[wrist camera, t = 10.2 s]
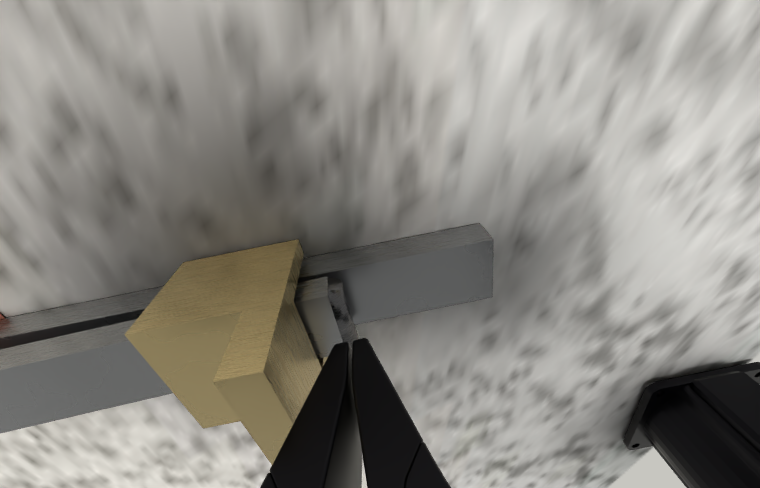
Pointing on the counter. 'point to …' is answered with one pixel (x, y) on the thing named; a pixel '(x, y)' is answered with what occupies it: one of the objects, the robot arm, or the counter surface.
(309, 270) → the tong base
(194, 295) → the collar
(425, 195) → the counter surface
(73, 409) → the upper tong arm
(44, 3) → the counter surface
